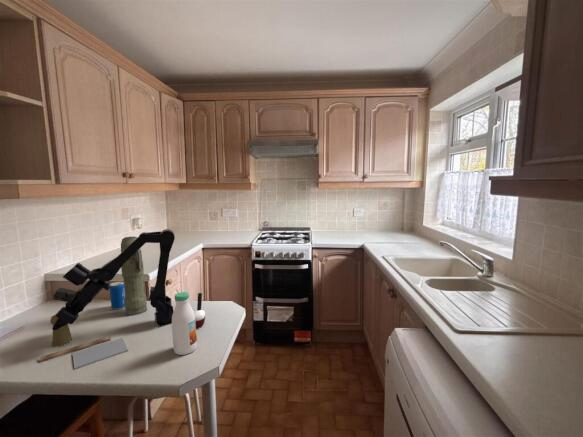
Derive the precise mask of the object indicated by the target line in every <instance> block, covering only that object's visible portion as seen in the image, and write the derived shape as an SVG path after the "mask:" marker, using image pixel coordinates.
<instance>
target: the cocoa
mask: <svg viewBox="0 0 583 437" xmlns="http://www.w3.org/2000/svg"><path fill="white" fill-rule="evenodd" d="M202 298H203V294H202V292H198V293H197V304H196V305H197V306H196V310H195V311H194V314H195V321H196V329H199V327H200V328H201V327H203V326H204V324H205V322H206V311H205V310H203V309H202Z"/></svg>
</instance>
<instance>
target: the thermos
mask: <svg viewBox="0 0 583 437" xmlns="http://www.w3.org/2000/svg"><path fill="white" fill-rule="evenodd" d="M136 238H138V237H137V236H125V237H123V238H122V239H121V242H120V254H121V253H122V252H123V251H124V250H125V249H126V248H127V247H128V246H129V245H130V244H131V243H132V242H133V241H134V240H135V239H136ZM141 249H142V248H140V249H139V250H138V251H137V252H136V253H135V254H134V255H132V256H131V257H130V258H129V259H128V260H127V261H126V262H125V263H124V264H123V265H122V267H121V268H120V269H121V276H122V278H123V282H124V288H125V299H124V303H125V308H124V309H125V314H126V315H127V316H137V315H140V314H143V313H145V312H147V310H148V308H147V307H148V306H147V304H148V301H147V295H146V293H145V283H144V273H145V270H144V261H143V256H142V255H143V254H142V250H141Z"/></svg>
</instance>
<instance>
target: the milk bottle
mask: <svg viewBox="0 0 583 437" xmlns="http://www.w3.org/2000/svg"><path fill="white" fill-rule="evenodd" d="M189 300H190V294H189V292H187V291H181V292H178V293H175V294H174V302H175V306H174V308H173V315H172V323H171V329H172V330H171V331H172V332H171V333H172V344H173V352H174V353H175V354H176V355H177V356H178V355H179V356H183V355H189V354H191V353H193V352H194V351H196V349H197V348H198V339H197V338H198V337H197V335H198V334H197V328H196V321H195V314H194V312H195V311H194V310H193V308H192V306H191V304H190V301H189Z"/></svg>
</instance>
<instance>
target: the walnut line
mask: <svg viewBox="0 0 583 437" xmlns="http://www.w3.org/2000/svg"><path fill="white" fill-rule="evenodd" d="M111 341H112V340H111V335H109V336H108V335H107V336H105V337H102V338H98V339H96V340H91V341H89V342H85V343H81V344H78V345H75V346H72V347H69V348H66V349H61V350H58V351H55V352H52V353H49V354H46V355H42V356H40V357H39V363H43V362H46V361H50V360H52V359H55V358H60V357H62V356H64V355H68V354H73V353H76V352H79V351H82V350H85V349H88V348H91V347H95V346H98V345H101V344H104V343H107V342H111ZM100 343H101V344H100ZM97 344H98V345H97Z"/></svg>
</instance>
